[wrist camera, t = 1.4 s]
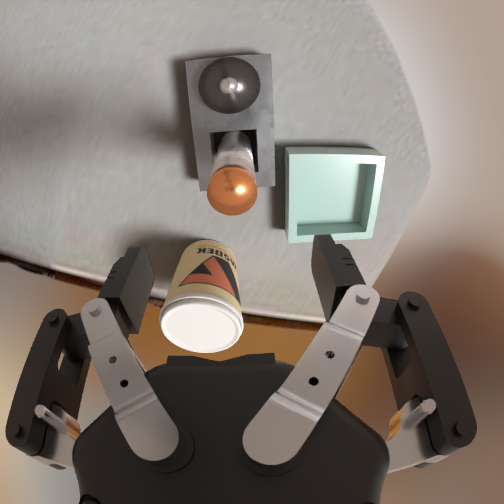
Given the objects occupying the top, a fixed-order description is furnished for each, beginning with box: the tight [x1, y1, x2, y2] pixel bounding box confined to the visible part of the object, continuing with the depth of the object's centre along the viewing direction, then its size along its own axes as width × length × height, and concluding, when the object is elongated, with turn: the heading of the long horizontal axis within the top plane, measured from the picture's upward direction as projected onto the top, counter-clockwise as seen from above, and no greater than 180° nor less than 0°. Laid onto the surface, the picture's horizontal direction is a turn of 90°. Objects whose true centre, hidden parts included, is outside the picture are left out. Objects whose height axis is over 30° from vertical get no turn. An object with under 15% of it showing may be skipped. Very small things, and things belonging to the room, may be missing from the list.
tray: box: [285, 147, 385, 243], centre depth 32 cm, size 11×11×3 cm
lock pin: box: [207, 131, 257, 215], centre depth 24 cm, size 3×3×13 cm
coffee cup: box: [159, 240, 243, 353], centre depth 34 cm, size 9×9×12 cm
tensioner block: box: [185, 54, 275, 191], centre depth 26 cm, size 14×8×5 cm, turn 3°
